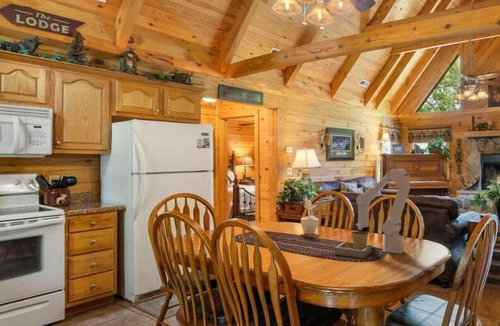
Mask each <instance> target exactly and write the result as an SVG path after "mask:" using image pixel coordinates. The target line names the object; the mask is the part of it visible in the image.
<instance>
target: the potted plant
mask: <svg viewBox="0 0 500 326" xmlns="http://www.w3.org/2000/svg"><path fill="white" fill-rule="evenodd" d="M302 199H303V201H304V207H305V208H306V210H307V216H304V217H301V218H300V225H301V226H302V229H303V232H304V234H306V235H314V234H315V233H316V231H317V228H318V226H319V225H320V219H319V218H318V217H316V216H313V215H311V211H312V210H313V209H314V208H315V207H317V206H318V204H312V201H311V200H310V199H307V198H306V197H303V198H302ZM300 204H302V201H300Z"/></svg>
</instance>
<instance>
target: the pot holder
mask: <svg viewBox="0 0 500 326" xmlns="http://www.w3.org/2000/svg"><path fill="white" fill-rule="evenodd" d="M346 244H347V243H346V241H343V242H342V243H340V244H338V245H336V246H335V247H334V255H339V256H345V257H346V256H347V257H353V258H360V259H365V258H366V257H367V256H369V255H370V254H371V253H372V245H368V246H367V245H366V248H365V249H363V250H362V249H360V250H358V249H355V248H348V247H347V245H346Z"/></svg>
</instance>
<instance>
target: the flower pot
mask: <svg viewBox="0 0 500 326" xmlns="http://www.w3.org/2000/svg"><path fill="white" fill-rule="evenodd" d="M369 234H370V232H369V231H368V232H362V231H358V230H357V231H350V235H351V237H352V244H353V249H356V250H363V249H365V248H366V247H367V242H368V237H369Z"/></svg>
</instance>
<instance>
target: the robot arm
mask: <svg viewBox="0 0 500 326" xmlns="http://www.w3.org/2000/svg"><path fill="white" fill-rule="evenodd" d="M391 182H393V183H394V184H395V185H396V187H397V192H396V195H395V198H394V200H393V201H394V202H393V204H392V207H391V211H390V214H389V216H388V217H387V218H386V219H385V222H384V223H383V224H382V225H381V230H382V232H383V236H384V237H383V239H384V241H383V243H384V246H383V247H384V248H383V249H382V250H381V252H383V253H390V254H392V253H393V254H399V255H401V254H402V253H403V252H404V251H405V250H404V244H405V243H404V239H405V238H404V235H402V234H401V235H400V231H401V229H402V226H401V224H402V219H401V216H402V214H403V211H404V208H405V205H406V201H407V200H408V199H407V198H408V196H409V193H410V190H411V183H410V174H409V171H407V170H406V169H405V168H392V169H390V170H389V171H388V172H386V174H385V175H384V176H383V177H382V178H381V179H380V180H379V181H378V182H377V183H376V184H375V185H374V186H373V185H371V186H368V187H367V190H365V191H363V192H362V193H361V194H362V195H361V194H360V195H358V196H357V197H356V199H355V200H356V204H357V208H358V209H357V215H358V217H357V223H356V224H355V225H356V226H357V231H362V232H368V233H369V230H370V219H369V218H370V210H369V209H370V204H371V203H372V201H373V200H374V199H375V198H376V197H377V196H378V195H379V194H380V191H381V190H382V189H383V188H385V186H387V185H388V184H389V183H391Z"/></svg>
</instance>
